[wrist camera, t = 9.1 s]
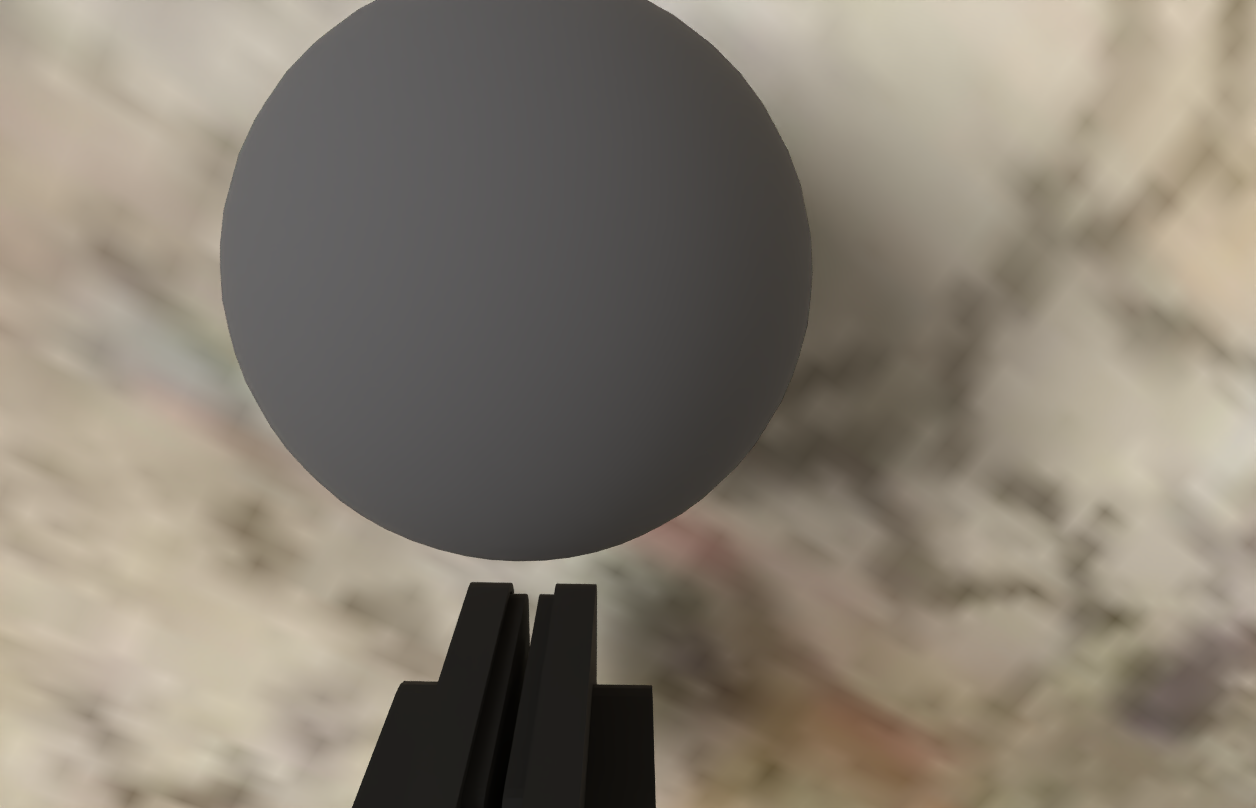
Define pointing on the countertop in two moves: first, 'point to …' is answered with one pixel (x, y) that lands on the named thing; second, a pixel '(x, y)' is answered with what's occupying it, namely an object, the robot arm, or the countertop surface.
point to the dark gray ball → (516, 270)
